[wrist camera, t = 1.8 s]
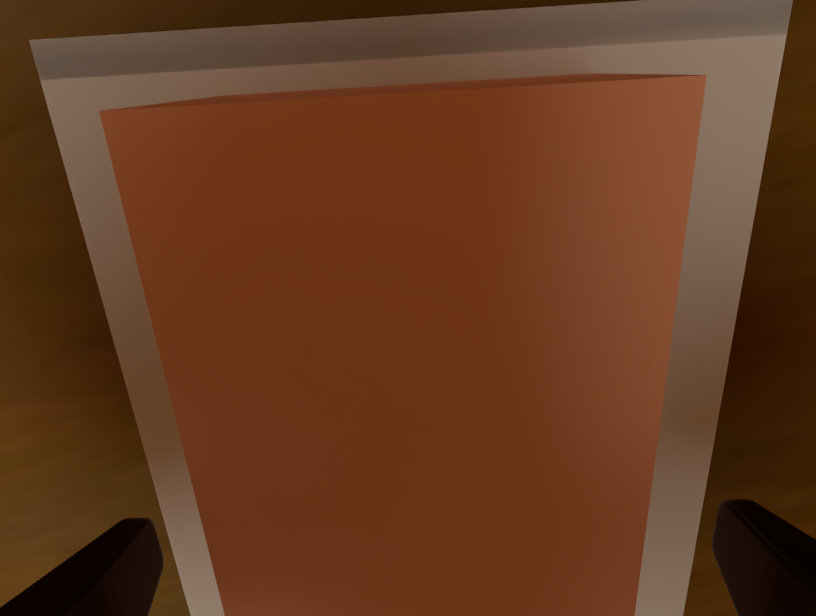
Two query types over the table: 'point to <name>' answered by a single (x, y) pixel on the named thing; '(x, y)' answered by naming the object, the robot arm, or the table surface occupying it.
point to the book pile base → (431, 63)
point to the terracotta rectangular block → (417, 333)
